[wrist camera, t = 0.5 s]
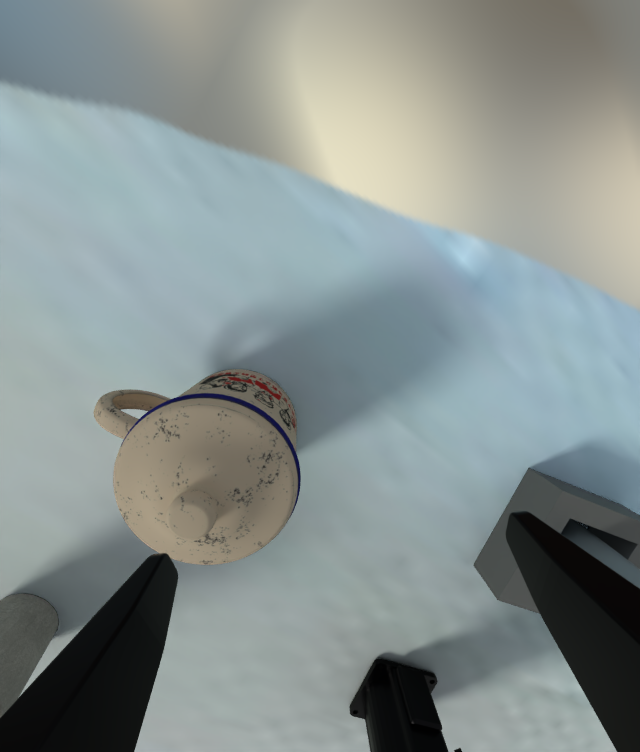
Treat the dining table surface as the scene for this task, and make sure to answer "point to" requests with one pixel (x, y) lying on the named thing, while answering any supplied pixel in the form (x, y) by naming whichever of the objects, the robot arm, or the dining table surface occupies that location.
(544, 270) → the dining table surface
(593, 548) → the ball
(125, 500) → the teacup with lid
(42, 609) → the house plant
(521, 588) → the frame
